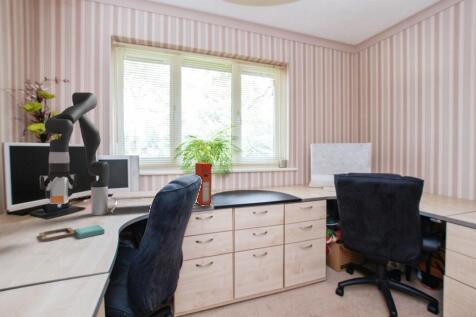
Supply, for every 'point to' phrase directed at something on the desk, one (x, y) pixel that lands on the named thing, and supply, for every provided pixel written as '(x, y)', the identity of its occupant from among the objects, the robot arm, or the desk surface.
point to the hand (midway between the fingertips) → (59, 197)
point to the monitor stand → (132, 196)
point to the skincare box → (59, 191)
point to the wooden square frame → (70, 230)
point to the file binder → (204, 182)
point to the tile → (89, 231)
